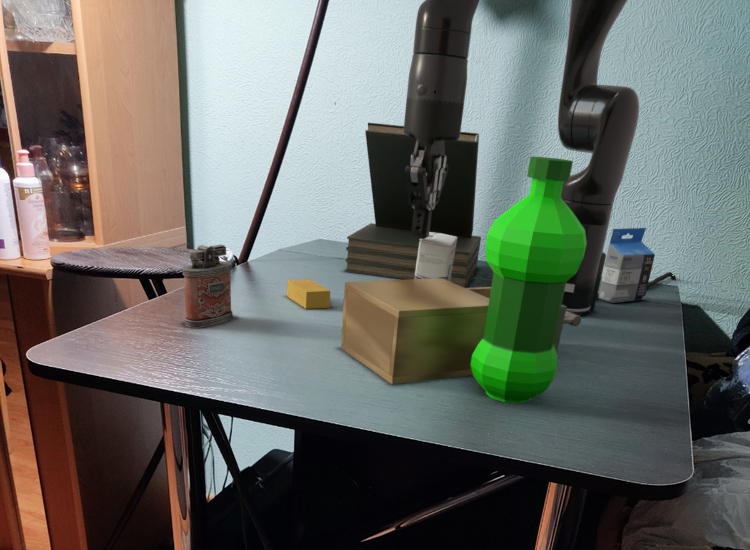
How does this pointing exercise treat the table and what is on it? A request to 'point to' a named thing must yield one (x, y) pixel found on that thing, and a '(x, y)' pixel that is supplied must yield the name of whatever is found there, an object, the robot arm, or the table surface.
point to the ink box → (436, 256)
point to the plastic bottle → (528, 286)
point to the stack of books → (395, 215)
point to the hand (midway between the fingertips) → (419, 237)
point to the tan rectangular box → (413, 327)
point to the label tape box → (626, 267)
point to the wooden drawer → (564, 318)
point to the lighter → (207, 287)
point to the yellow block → (308, 294)
